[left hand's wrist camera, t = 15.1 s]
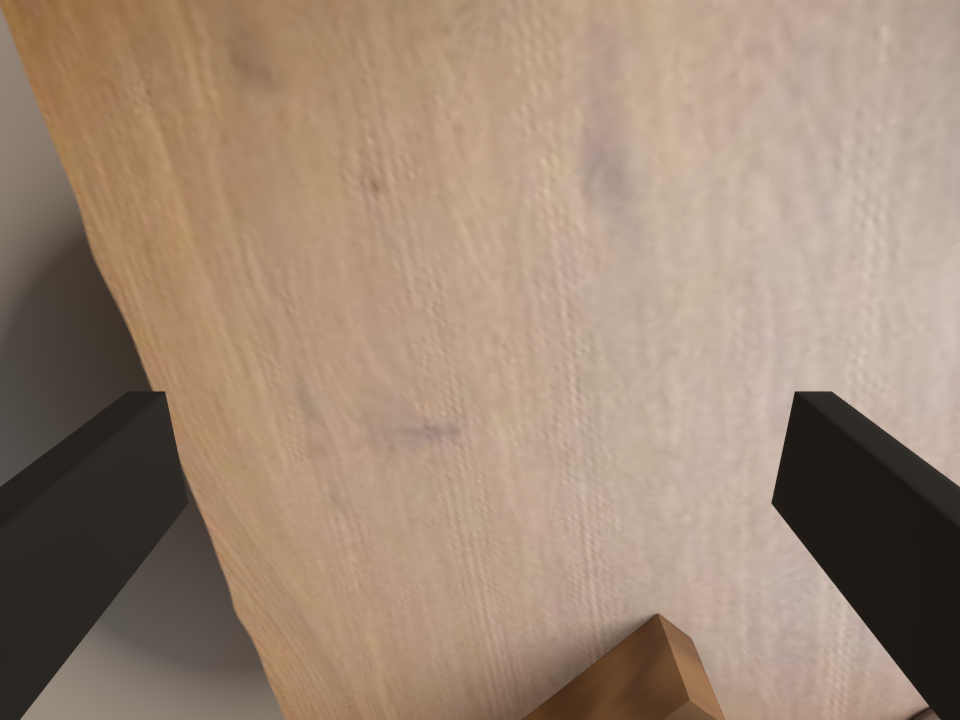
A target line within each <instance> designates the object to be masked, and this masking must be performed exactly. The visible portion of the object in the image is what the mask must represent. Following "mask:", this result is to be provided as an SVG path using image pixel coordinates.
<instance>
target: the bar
mask: <svg viewBox="0 0 960 720" xmlns="http://www.w3.org/2000/svg"><path fill="white" fill-rule="evenodd" d="M523 720H725V718H724V715H723V713H722V711H721V708H720V706H719V703H718V701H717V699H716V696H715V694H714V691H713V689H712V687H711V684H710V682H709V679H708V677H707V674H706V672H705V670H704V667H703V665H702V662H701V660H700V658H699V655H698V653H697V650H696V648H695V646H694V643H693V641H692V639H691V638H690V637H689V636H687V635H686V634H685V633H683V632H682V631H681V630H679V629H678V628H677V627H676V626H674V625H673V624H672V623H670V622H669V621H668V620H666V619H665V618H664V617H662V616H661V615H660V614H657V615H655V616H654V617H653V618H652V619H650V620H649V621H648V622H646V623H645V624H644V625H643V626H641V627H640V628H639V629H638V630H636V631H635V632H634V633H633V634H631V635H630V636H629V637H627V638H626V639H625V640H624V641H622V642H621V643H620V644H619V645H617V646H616V647H615V648H613V649H612V650H611V651H610V652H608V653H607V654H606V655H605V656H603V657H602V658H601V659H600V660H598V661H597V662H596V663H594V664H593V665H592V666H591V667H589V668H588V669H587V670H586V671H584V672H583V673H582V674H580V675H579V676H578V677H577V678H575V679H574V680H573V681H572V682H570V683H569V684H568V685H566V686H565V687H564V688H563V689H561V690H560V691H559V692H558V693H556V694H555V695H554V696H553V697H551V698H550V699H549V700H547V701H546V702H545V703H544V704H542V705H541V706H540V707H539V708H537V709H536V710H535V711H533V712H532V713H531V714H530V715H528V716H527V717H526V718H525V719H523Z"/></svg>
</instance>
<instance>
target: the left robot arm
mask: <svg viewBox="0 0 960 720" xmlns="http://www.w3.org/2000/svg"><path fill="white" fill-rule="evenodd" d="M187 505H188V499H187V494H186V489H185V484H184V480H183V475H182V470H181V465H180V460H179V456H178V451H177V446H176V441H175V437H174V432H173V427H172V422H171V418H170V413H169V408H168V403H167V399H166V394H165V392H127V393H126V394H124V395H123V396H122V397H120V398H119V399H118V400H116V401H115V402H114V403H112V404H111V405H110V406H108V407H107V408H105V409H104V410H103V411H102V412H100V413H99V414H97V415H96V416H95V417H94V418H92V419H91V420H89V421H88V422H87V423H85V424H84V425H83V426H81V427H80V428H79V429H77V430H76V431H75V432H73V433H72V434H71V435H69V436H68V437H67V438H65V439H64V440H63V441H61V442H60V443H59V444H57V445H56V446H55V447H53V448H52V449H51V450H49V451H48V452H47V453H45V454H44V455H42V456H41V457H40V458H38V459H37V460H36V461H34V462H33V463H32V464H30V465H29V466H28V467H26V468H25V469H24V470H22V471H21V472H20V473H18V474H17V475H16V476H14V477H13V478H12V479H10V480H9V481H8V482H6V483H5V484H4V485H2V486H1V487H0V720H20V719H21V718H22V716H23V715H24V714H25V712H26V711H27V710H28V709H29V707H30V706H31V705H32V704H33V702H34V701H35V700H36V698H37V697H38V696H39V695H40V693H41V692H42V691H43V689H44V688H45V687H46V686H47V684H48V683H49V682H50V680H51V679H52V678H53V677H54V675H55V674H56V673H57V671H58V670H59V669H60V668H61V666H62V665H63V664H64V662H65V661H66V660H67V659H68V657H69V656H70V655H71V653H72V652H73V651H74V650H75V648H76V647H77V646H78V645H79V643H80V642H81V641H82V639H83V638H84V637H85V636H86V634H87V633H88V632H89V630H90V629H91V628H92V627H93V625H94V624H95V623H96V621H97V620H98V619H99V618H100V616H101V615H102V614H103V612H104V611H105V610H106V609H107V607H108V606H109V605H110V603H111V602H112V601H113V600H114V598H115V597H116V596H117V594H118V593H119V592H120V591H121V589H122V588H123V587H124V585H125V584H126V583H127V582H128V580H129V579H130V578H131V576H132V575H133V574H134V573H135V571H136V570H137V569H138V567H139V566H140V565H141V564H142V562H143V561H144V560H145V559H146V557H147V556H148V555H149V553H150V552H151V551H152V550H153V548H154V547H155V546H156V544H157V543H158V542H159V541H160V539H161V538H162V537H163V535H164V534H165V533H166V532H167V530H168V529H169V528H170V526H171V525H172V524H173V523H174V521H175V520H176V519H177V517H178V516H179V515H180V514H181V512H182V511H183V510H184V508H185V507H186V506H187ZM772 505H773V506H774V507H775V508H776V510H777V511H778V512H779V514H780V515H781V516H782V517H783V519H784V520H785V521H786V523H787V524H788V525H789V526H790V528H791V529H792V530H793V532H794V533H795V534H796V535H797V537H798V538H799V539H800V541H801V542H802V543H803V544H804V546H805V547H806V548H807V550H808V551H809V552H810V553H811V555H812V556H813V557H814V559H815V560H816V561H817V562H818V564H819V565H820V566H821V568H822V569H823V570H824V571H825V573H826V574H827V575H828V576H829V578H830V579H831V580H832V582H833V583H834V584H835V585H836V587H837V588H838V589H839V591H840V592H841V593H842V594H843V596H844V597H845V598H846V600H847V601H848V602H849V603H850V605H851V606H852V607H853V609H854V610H855V611H856V612H857V614H858V615H859V616H860V618H861V619H862V620H863V621H864V623H865V624H866V625H867V627H868V628H869V629H870V630H871V632H872V633H873V634H874V636H875V637H876V638H877V639H878V641H879V642H880V643H881V645H882V646H883V647H884V648H885V650H886V651H887V652H888V654H889V655H890V656H891V657H892V659H893V660H894V661H895V662H896V664H897V665H898V666H899V668H900V669H901V670H902V671H903V673H904V674H905V675H906V677H907V678H908V679H909V680H910V682H911V683H912V684H913V686H914V687H915V688H916V689H917V691H918V692H919V693H920V695H921V696H922V697H923V698H924V700H925V701H926V702H927V704H928V705H929V706H930V707H931V709H932V710H933V711H934V713H935V714H936V715H937V716H938V718H939V719H940V720H960V487H959V486H958V485H956V484H955V483H954V482H952V481H951V480H950V479H948V478H947V477H946V476H944V475H943V474H942V473H940V472H939V471H938V470H936V469H935V468H934V467H932V466H931V465H930V464H928V463H927V462H926V461H924V460H923V459H922V458H920V457H919V456H918V455H916V454H915V453H913V452H912V451H911V450H909V449H908V448H907V447H905V446H904V445H903V444H901V443H900V442H899V441H897V440H896V439H895V438H893V437H892V436H891V435H889V434H888V433H887V432H885V431H884V430H883V429H881V428H880V427H879V426H877V425H876V424H875V423H873V422H872V421H871V420H869V419H868V418H867V417H865V416H864V415H863V414H861V413H860V412H859V411H857V410H856V409H855V408H853V407H852V406H850V405H849V404H848V403H846V402H845V401H844V400H842V399H841V398H840V397H838V396H837V395H836V394H834V393H833V392H795V394H794V399H793V403H792V408H791V413H790V418H789V422H788V427H787V432H786V437H785V441H784V446H783V451H782V456H781V460H780V465H779V470H778V475H777V479H776V484H775V489H774V494H773V499H772Z"/></svg>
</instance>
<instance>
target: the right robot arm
mask: <svg viewBox="0 0 960 720" xmlns="http://www.w3.org/2000/svg"><path fill="white" fill-rule="evenodd" d="M913 720H940V719H939V718H938V716H937V715H936V714H935V713H934V711H933V710H932V709H930V710H928V711H926V712H924V713H922V714H920V715H919V716H917V717H916V718H914V719H913Z"/></svg>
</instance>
